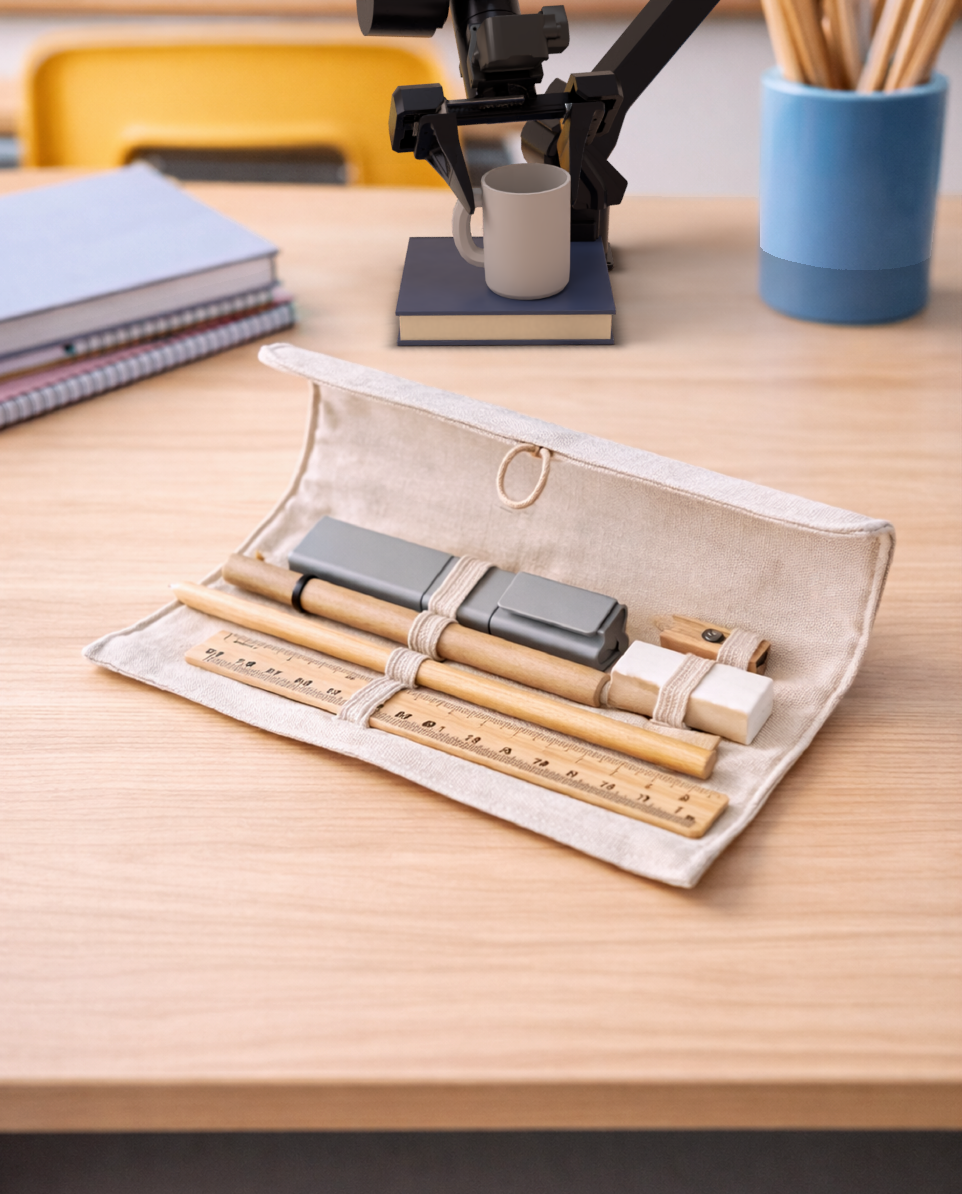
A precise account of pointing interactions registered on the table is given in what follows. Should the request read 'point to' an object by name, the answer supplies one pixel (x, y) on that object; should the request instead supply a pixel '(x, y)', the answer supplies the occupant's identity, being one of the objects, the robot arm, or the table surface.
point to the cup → (520, 230)
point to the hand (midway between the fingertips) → (522, 207)
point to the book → (499, 301)
